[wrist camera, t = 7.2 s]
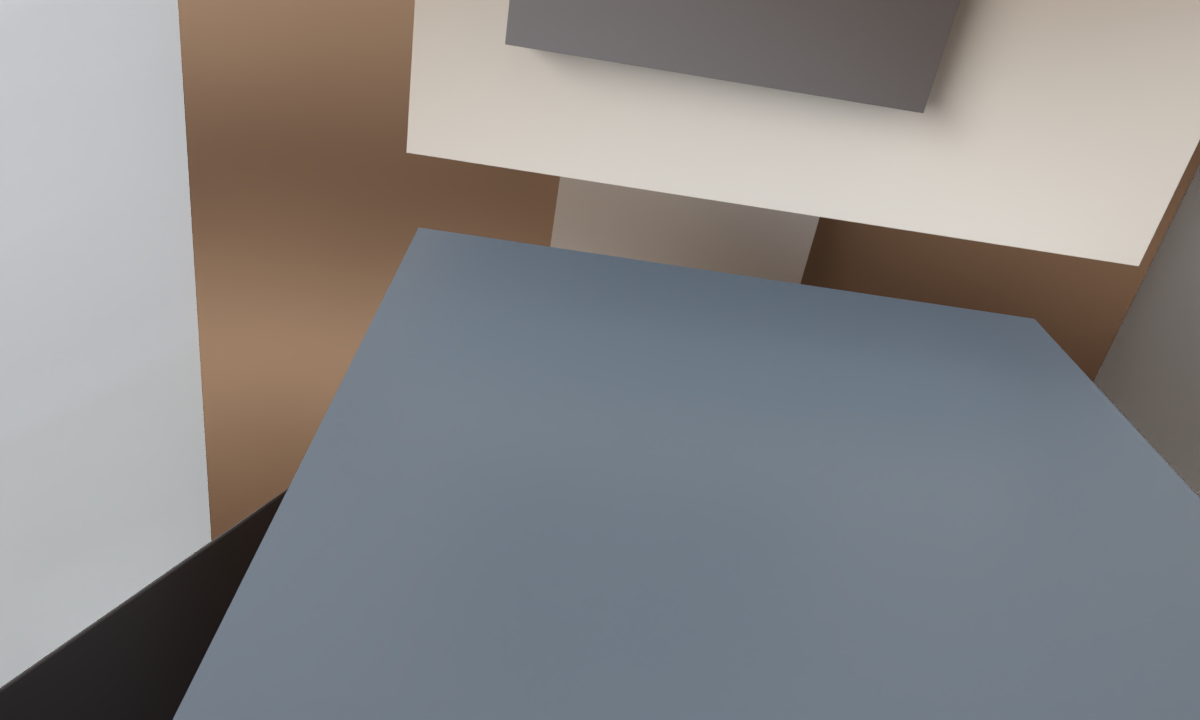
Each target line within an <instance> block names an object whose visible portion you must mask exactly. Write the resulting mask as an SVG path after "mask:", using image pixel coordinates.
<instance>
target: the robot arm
mask: <svg viewBox="0 0 1200 720" xmlns="http://www.w3.org/2000/svg"><path fill="white" fill-rule="evenodd" d="M287 490H288V488H287V489H286V490H284V491H283V492H281V493H280V494H279V495H277V496H276V497H274V498H273V499H271V500H270V501H269V502H267V503H266V504H264V505H263V506H261V507H260V508H258V509H257V510H256V511H254V512H253V513H251V514H250V515H248V516H247V517H246V518H244V519H243V520H241V521H240V522H238V523H237V524H235V525H234V526H233V527H231V528H230V529H228V530H227V531H225V532H224V533H223V534H221V535H220V536H218V537H217V538H215V539H214V540H212V541H211V542H210V543H208V544H207V545H205V546H204V547H202V548H201V549H200V550H198V551H197V552H195V553H194V554H192V555H191V556H189V557H188V558H187V559H185V560H184V561H182V562H181V563H179V564H178V565H176V566H175V567H174V568H172V569H171V570H169V571H168V572H166V573H165V574H164V575H162V576H161V577H159V578H158V579H156V580H155V581H153V582H152V583H151V584H149V585H148V586H146V587H145V588H143V589H142V590H141V591H139V592H138V593H136V594H135V595H133V596H132V597H130V598H129V599H128V600H126V601H125V602H123V603H122V604H120V605H119V606H118V607H116V608H115V609H113V610H112V611H110V612H109V613H107V614H106V615H105V616H103V617H102V618H100V619H99V620H97V621H96V622H95V623H93V624H92V625H90V626H89V627H87V628H86V629H84V630H83V631H82V632H80V633H79V634H77V635H76V636H74V637H73V638H71V639H70V640H69V641H67V642H66V643H64V644H63V645H61V646H60V647H59V648H57V649H56V650H54V651H53V652H51V653H50V654H48V655H47V656H46V657H44V658H43V659H41V660H40V661H38V662H37V663H36V664H34V665H33V666H31V667H30V668H28V669H27V670H25V671H24V672H23V673H21V674H20V675H18V676H17V677H15V678H14V679H13V680H11V681H10V682H8V683H7V684H5V685H4V686H2V687H1V688H0V720H173V718H174V716H175V714H176V712H177V710H178V708H179V706H180V704H181V702H182V700H183V698H184V696H185V694H186V692H187V690H188V688H189V686H190V684H191V682H192V680H193V678H194V676H195V674H196V672H197V670H198V668H199V666H200V664H201V662H202V660H203V658H204V656H205V654H206V652H207V650H208V648H209V646H210V644H211V642H212V640H213V638H214V636H215V634H216V632H217V630H218V628H219V626H220V624H221V622H222V620H223V618H224V616H225V614H226V612H227V610H228V608H229V606H230V604H231V602H232V600H233V598H234V596H235V594H236V592H237V590H238V588H239V586H240V584H241V582H242V580H243V578H244V576H245V574H246V572H247V570H248V568H249V566H250V564H251V562H252V560H253V558H254V556H255V554H256V552H257V550H258V548H259V546H260V544H261V542H262V540H263V538H264V536H265V534H266V532H267V530H268V528H269V526H270V524H271V522H272V520H273V518H274V516H275V514H276V512H277V510H278V508H279V506H280V504H281V502H282V500H283V498H284V496H285V494H286V492H287Z"/></svg>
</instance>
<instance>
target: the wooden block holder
mask: <svg viewBox="0 0 1200 720" xmlns="http://www.w3.org/2000/svg"><path fill="white" fill-rule="evenodd" d="M178 8H179V25H180V41H181V57H182V73H183V89H184V105H185V121H186V137H187V153H188V169H189V185H190V201H191V217H192V233H193V250H194V266H195V282H196V298H197V314H198V330H199V346H200V362H201V378H202V394H203V410H204V426H205V442H206V458H207V475H208V491H209V507H210V523H211V539H212V540H214V539H215V538H217V537H218V536H220V535H221V534H223V533H224V532H225V531H227V530H228V529H230V528H231V527H233V526H234V525H235V524H237V523H238V522H240V521H241V520H243V519H244V518H246V517H247V516H248V515H250V514H251V513H253V512H254V511H256V510H257V509H258V508H260V507H261V506H263V505H264V504H266V503H267V502H269V501H270V500H271V499H273V498H274V497H276V496H277V495H279V494H280V493H281V492H283V491H284V490H286V489H287V488H289V486H290V484H291V482H292V480H293V478H294V476H295V474H296V472H297V470H298V468H299V466H300V464H301V462H302V460H303V458H304V456H305V454H306V452H307V450H308V448H309V446H310V444H311V442H312V440H313V438H314V436H315V434H316V432H317V430H318V428H319V426H320V424H321V422H322V420H323V418H324V416H325V414H326V412H327V410H328V408H329V406H330V404H331V402H332V400H333V398H334V396H335V394H336V392H337V390H338V388H339V386H340V384H341V382H342V380H343V378H344V376H345V374H346V372H347V370H348V368H349V366H350V364H351V362H352V360H353V358H354V356H355V354H356V352H357V350H358V348H359V346H360V344H361V342H362V340H363V338H364V336H365V334H366V332H367V330H368V328H369V326H370V324H371V322H372V320H373V318H374V316H375V314H376V312H377V310H378V308H379V306H380V304H381V302H382V300H383V298H384V296H385V294H386V292H387V290H388V288H389V286H390V284H391V282H392V280H393V278H394V276H395V274H396V272H397V270H398V268H399V266H400V264H401V262H402V260H403V258H404V256H405V254H406V252H407V250H408V248H409V246H410V244H411V242H412V240H413V238H414V236H415V234H416V232H417V230H418V228H419V227H420V228H426V229H433V230H440V231H447V232H453V233H460V234H467V235H474V236H480V237H487V238H494V239H501V240H507V241H514V242H521V243H527V244H534V245H541V246H548V247H554V248H561V249H568V250H575V251H581V252H588V253H595V254H601V255H608V256H615V257H622V258H628V259H635V260H642V261H649V262H655V263H662V264H669V265H676V266H682V267H689V268H696V269H702V270H709V271H716V272H723V273H729V274H736V275H743V276H750V277H756V278H763V279H770V280H776V281H783V282H790V283H797V284H803V285H810V286H817V287H824V288H830V289H837V290H844V291H851V292H857V293H864V294H871V295H877V296H884V297H891V298H898V299H904V300H911V301H918V302H925V303H931V304H938V305H945V306H952V307H958V308H965V309H972V310H978V311H985V312H992V313H999V314H1005V315H1012V316H1019V317H1026V318H1032V319H1035V320H1036V321H1037V322H1038V323H1039V324H1040V325H1041V326H1042V327H1043V329H1044V330H1045V331H1046V332H1047V333H1048V334H1049V335H1050V336H1051V337H1052V338H1053V339H1054V341H1055V342H1056V343H1057V344H1058V345H1059V346H1060V347H1061V348H1062V349H1063V350H1064V351H1065V352H1066V354H1067V355H1068V356H1069V357H1070V358H1071V359H1072V360H1073V361H1074V362H1075V363H1076V364H1077V365H1078V367H1079V368H1080V369H1081V370H1082V371H1083V372H1084V373H1085V374H1086V375H1087V376H1088V377H1089V379H1090V380H1091V381H1092V382H1093V381H1094V379H1095V377H1096V375H1097V373H1098V371H1099V369H1100V367H1101V365H1102V363H1103V361H1104V359H1105V356H1106V354H1107V352H1108V350H1109V348H1110V346H1111V344H1112V342H1113V340H1114V338H1115V336H1116V334H1117V332H1118V330H1119V328H1120V326H1121V324H1122V322H1123V320H1124V318H1125V316H1126V313H1127V311H1128V309H1129V307H1130V305H1131V303H1132V301H1133V299H1134V297H1135V295H1136V293H1137V291H1138V289H1139V287H1140V285H1141V283H1142V281H1143V279H1144V277H1145V275H1146V272H1147V270H1148V268H1149V266H1150V264H1151V262H1152V260H1153V258H1154V256H1155V254H1156V252H1157V250H1158V248H1159V246H1160V244H1161V242H1162V240H1163V238H1164V236H1165V234H1166V232H1167V229H1168V227H1169V225H1170V223H1171V221H1172V219H1173V217H1174V215H1175V213H1176V211H1177V209H1178V207H1179V205H1180V203H1181V201H1182V199H1183V197H1184V195H1185V193H1186V191H1187V189H1188V186H1189V184H1190V182H1191V180H1192V178H1193V176H1194V174H1195V172H1196V170H1197V168H1198V166H1199V164H1200V0H178Z"/></svg>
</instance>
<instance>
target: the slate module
mask: <svg viewBox="0 0 1200 720" xmlns="http://www.w3.org/2000/svg"><path fill="white" fill-rule="evenodd" d="M173 720H1200V498H1199V497H1198V496H1197V495H1196V494H1195V493H1194V492H1193V490H1192V489H1191V488H1190V487H1189V486H1188V485H1187V484H1186V483H1185V482H1184V481H1183V480H1182V478H1181V477H1180V476H1179V475H1178V474H1177V473H1176V472H1175V471H1174V470H1173V469H1172V468H1171V467H1170V465H1169V464H1168V463H1167V462H1166V461H1165V460H1164V459H1163V458H1162V457H1161V456H1160V455H1159V454H1158V452H1157V451H1156V450H1155V449H1154V448H1153V447H1152V446H1151V445H1150V444H1149V443H1148V442H1147V440H1146V439H1145V438H1144V437H1143V436H1142V435H1141V434H1140V433H1139V432H1138V431H1137V430H1136V429H1135V427H1134V426H1133V425H1132V424H1131V423H1130V422H1129V421H1128V420H1127V419H1126V418H1125V417H1124V415H1123V414H1122V413H1121V412H1120V411H1119V410H1118V409H1117V408H1116V407H1115V406H1114V405H1113V404H1112V402H1111V401H1110V400H1109V399H1108V398H1107V397H1106V396H1105V395H1104V394H1103V393H1102V392H1101V390H1100V389H1099V388H1098V387H1097V386H1096V385H1095V384H1094V383H1093V382H1092V381H1091V380H1090V379H1089V377H1088V376H1087V375H1086V374H1085V373H1084V372H1083V371H1082V370H1081V369H1080V368H1079V367H1078V365H1077V364H1076V363H1075V362H1074V361H1073V360H1072V359H1071V358H1070V357H1069V356H1068V355H1067V354H1066V352H1065V351H1064V350H1063V349H1062V348H1061V347H1060V346H1059V345H1058V344H1057V343H1056V342H1055V341H1054V339H1053V338H1052V337H1051V336H1050V335H1049V334H1048V333H1047V332H1046V331H1045V330H1044V329H1043V327H1042V326H1041V325H1040V324H1039V323H1038V322H1037V321H1036V320H1035V319H1032V318H1026V317H1019V316H1012V315H1005V314H999V313H992V312H985V311H978V310H972V309H965V308H958V307H952V306H945V305H938V304H931V303H925V302H918V301H911V300H904V299H898V298H891V297H884V296H877V295H871V294H864V293H857V292H851V291H844V290H837V289H830V288H824V287H817V286H810V285H803V284H797V283H790V282H783V281H776V280H770V279H763V278H756V277H750V276H743V275H736V274H729V273H723V272H716V271H709V270H702V269H696V268H689V267H682V266H676V265H669V264H662V263H655V262H649V261H642V260H635V259H628V258H622V257H615V256H608V255H601V254H595V253H588V252H581V251H575V250H568V249H561V248H554V247H548V246H541V245H534V244H527V243H521V242H514V241H507V240H501V239H494V238H487V237H480V236H474V235H467V234H460V233H453V232H447V231H440V230H433V229H426V228H420V227H419V228H418V230H417V232H416V234H415V236H414V238H413V240H412V242H411V244H410V246H409V248H408V250H407V252H406V254H405V256H404V258H403V260H402V262H401V264H400V266H399V268H398V270H397V272H396V274H395V276H394V278H393V280H392V282H391V284H390V286H389V288H388V290H387V292H386V294H385V296H384V298H383V300H382V302H381V304H380V306H379V308H378V310H377V312H376V314H375V316H374V318H373V320H372V322H371V324H370V326H369V328H368V330H367V332H366V334H365V336H364V338H363V340H362V342H361V344H360V346H359V348H358V350H357V352H356V354H355V356H354V358H353V360H352V362H351V364H350V366H349V368H348V370H347V372H346V374H345V376H344V378H343V380H342V382H341V384H340V386H339V388H338V390H337V392H336V394H335V396H334V398H333V400H332V402H331V404H330V406H329V408H328V410H327V412H326V414H325V416H324V418H323V420H322V422H321V424H320V426H319V428H318V430H317V432H316V434H315V436H314V438H313V440H312V442H311V444H310V446H309V448H308V450H307V452H306V454H305V456H304V458H303V460H302V462H301V464H300V466H299V468H298V470H297V472H296V474H295V476H294V478H293V480H292V482H291V484H290V486H289V488H288V490H287V492H286V494H285V496H284V498H283V500H282V502H281V504H280V506H279V508H278V510H277V512H276V514H275V516H274V518H273V520H272V522H271V524H270V526H269V528H268V530H267V532H266V534H265V536H264V538H263V540H262V542H261V544H260V546H259V548H258V550H257V552H256V554H255V556H254V558H253V560H252V562H251V564H250V566H249V568H248V570H247V572H246V574H245V576H244V578H243V580H242V582H241V584H240V586H239V588H238V590H237V592H236V594H235V596H234V598H233V600H232V602H231V604H230V606H229V608H228V610H227V612H226V614H225V616H224V618H223V620H222V622H221V624H220V626H219V628H218V630H217V632H216V634H215V636H214V638H213V640H212V642H211V644H210V646H209V648H208V650H207V652H206V654H205V656H204V658H203V660H202V662H201V664H200V666H199V668H198V670H197V672H196V674H195V676H194V678H193V680H192V682H191V684H190V686H189V688H188V690H187V692H186V694H185V696H184V698H183V700H182V702H181V704H180V706H179V708H178V710H177V712H176V714H175V716H174V718H173Z"/></svg>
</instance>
